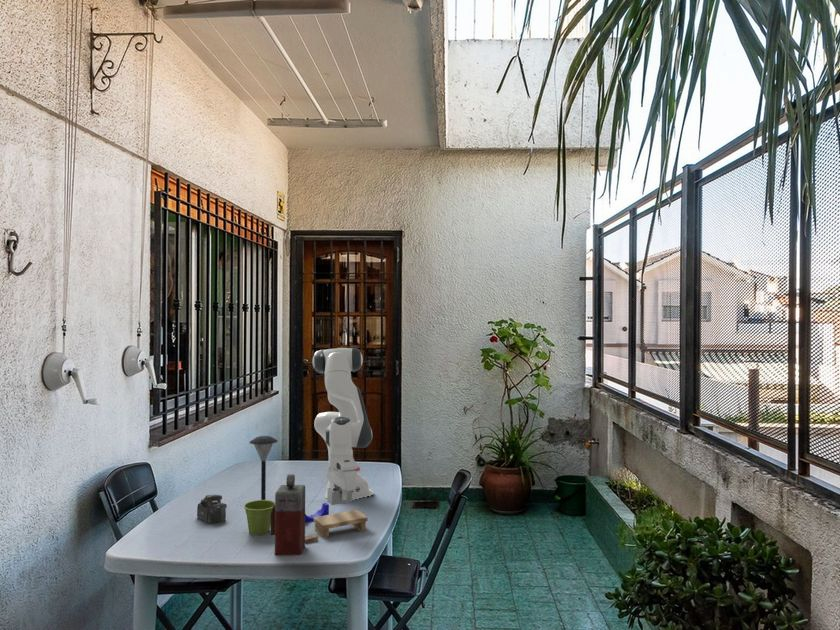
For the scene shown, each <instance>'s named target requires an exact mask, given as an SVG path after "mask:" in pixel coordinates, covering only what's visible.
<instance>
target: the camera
mask: <svg viewBox="0 0 840 630" xmlns="http://www.w3.org/2000/svg"><path fill="white" fill-rule="evenodd" d="M222 499H223V496H222V495H221V494H207V495H205V496H204V498H202V499H201V501H200V502H199V503H198V504H197V506H196V507H197V508H196V509H197V510H196V517H197V518H198V519H199V520H202V521H204V522H205V523H208V524H219V523H224V522H225V521H226V519H227V518H226V516H227V511H226V509H227V508H228V505H227V504H226V503H224V502H221V501H222Z"/></svg>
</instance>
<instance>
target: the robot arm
mask: <svg viewBox="0 0 840 630" xmlns="http://www.w3.org/2000/svg"><path fill="white" fill-rule="evenodd" d="M313 354H314V355H313V357H312V366H313V369H314V371H315V372H316V373H318V374H323V375H324V386H325V390H326V392H327V399H328V402H329V403H330V405H332V406H334V407H335V408H336V409H337V410H338V411H325V412H320V413H318V414H317V415H316V417H315V419H314V422H313V424H314V430H315V431H316V432H317V433H318V434H319V435H320V436H321V438H322V439H323V440H324V443H325V444H326V447H327V451H328V453H327V454H328V462H327V465H326V466H327V467H326V478H327V487H326V490H325V491H326V492H325V494H324V495H325V496H324V498H325V499H327V493H328V488H332V487H333V486H336V487H340V488H341V489H342V495H341V499H342V500H346V499H347V493H348V491H352V500H353V501H355V500H354V499H357V500H359V499H358V498H361V499H363V498H362V497H365V498H367V497H366V496H369V497H372V496H371V495H373V494H374V493H375V492H374V491H373V490H372V489H371V488H369V483H368V481H367V479H365V478H364V477H363V476H362V475H361V474H359V473H358V472H360V470H361V467H359V466H358V463H357V462H356V461H355V459H354V455H353V454H354V450H353V448H357V449H358V448H359V449H365V448H367V447H368V446H369V445H370V444H371V443H372V441H373V430H372V427H371V424H370V421H369V418H368V414H367V410H366V405H365V403H364V398H363V396H362V392H361V391H362V390H361V389H360V388H359V387H358V386H356V384H355V383H354V382H353V380H352V373H355V372H357V371H359V370H360V369H362V365H363V364H364V363H363V362H364V358H363V354H362V352H361V350H360V349H359V348H357V347H351V348H350V347H337V348H328V349H320V350H316V351H315V352H314V353H313ZM351 372H352V373H351ZM373 496H374V495H373Z"/></svg>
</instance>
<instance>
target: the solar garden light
mask: <svg viewBox="0 0 840 630" xmlns="http://www.w3.org/2000/svg"><path fill="white" fill-rule="evenodd" d="M278 442H279V440H278V439H276V438H274V437H273V436H270V435H261V436H256V437H255V438H252V439H251V440H249V442H248V443H249V444H251V445H254V448H255V450H256V452H257V455H258V457H259V459H260V460H261V474H260V475H261V476H260V477H261V479H260V482H261V484H260V485H261V489H260V491H261V492H260V493H261V494H260V495H261V496H260V498H261V499H260V500H266V491H267V490H266V488H267V487H266V485H267V483H266V479H267V477H266V475H267V473H266V469H267V468H266V466H267V465H266V462H267V458H268V456H269V454H270V451H271V449H272V447H273V445H274V444H275V443H278Z"/></svg>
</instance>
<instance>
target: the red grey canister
mask: <svg viewBox="0 0 840 630" xmlns="http://www.w3.org/2000/svg"><path fill="white" fill-rule="evenodd" d="M295 477H296V476H295V474H290V473H289V474H287V475H286V482H285V483H286V484H281V485H279V487H278V489H277V490H276V492H275V495H274V496H275V497H274V502H275V504H274V506H273V508H272V511H271V525H270V536H274V556H302V554H303V551H304V550H305V547H306V543H305V536H306V522H305V514H306V486H305V484H295Z"/></svg>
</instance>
